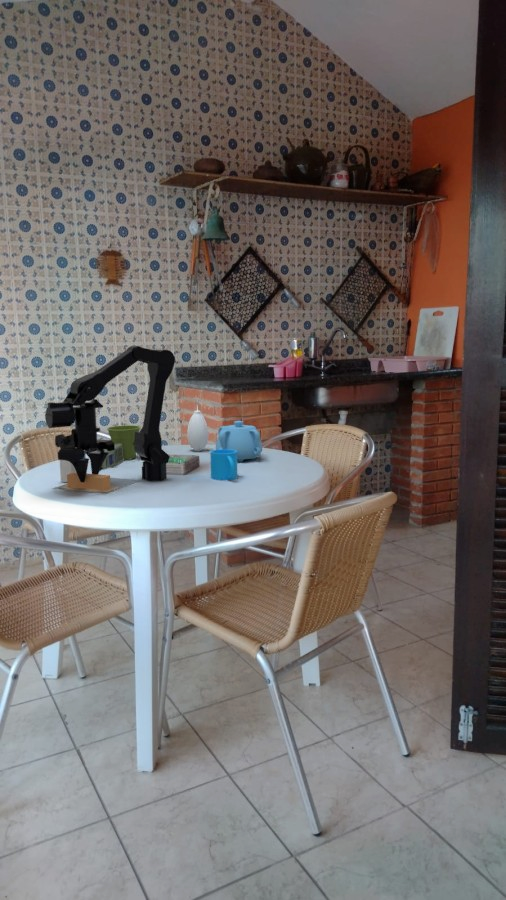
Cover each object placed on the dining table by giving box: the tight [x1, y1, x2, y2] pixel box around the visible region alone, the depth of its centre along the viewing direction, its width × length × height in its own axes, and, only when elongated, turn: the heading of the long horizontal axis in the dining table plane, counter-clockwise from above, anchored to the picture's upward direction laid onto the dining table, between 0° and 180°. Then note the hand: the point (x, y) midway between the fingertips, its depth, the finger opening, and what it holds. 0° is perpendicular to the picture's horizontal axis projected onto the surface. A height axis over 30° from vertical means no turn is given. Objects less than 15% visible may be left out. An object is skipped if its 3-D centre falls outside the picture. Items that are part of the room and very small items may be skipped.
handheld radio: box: [99, 443, 125, 472], centre depth 215 cm, size 7×3×25 cm
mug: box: [210, 449, 238, 481], centre depth 198 cm, size 12×8×8 cm
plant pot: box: [106, 424, 141, 461], centre depth 231 cm, size 12×12×11 cm
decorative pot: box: [215, 420, 263, 463], centre depth 229 cm, size 16×16×14 cm
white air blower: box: [186, 403, 209, 452], centre depth 245 cm, size 8×8×18 cm
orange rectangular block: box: [66, 472, 111, 490], centre depth 182 cm, size 12×4×4 cm, turn 68°
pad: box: [58, 485, 120, 494], centre depth 182 cm, size 16×6×1 cm, turn 68°
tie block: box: [59, 454, 87, 483], centre depth 192 cm, size 4×7×7 cm, turn 158°
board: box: [52, 477, 141, 495], centre depth 187 cm, size 18×18×1 cm
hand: (88, 480), depth 181 cm, fingers open, 5 cm apart
